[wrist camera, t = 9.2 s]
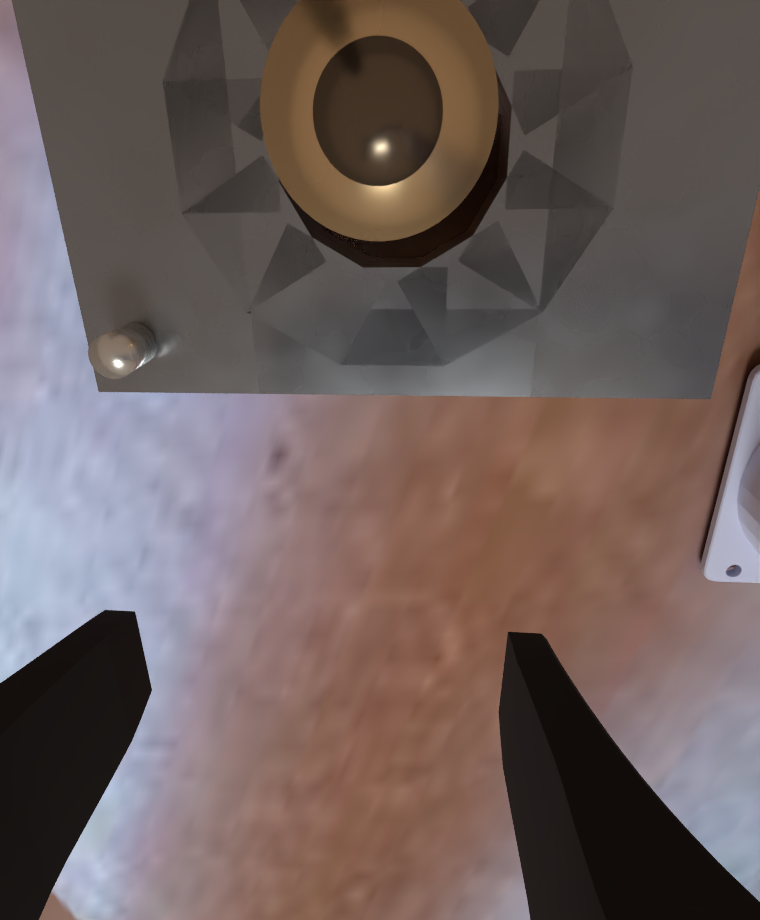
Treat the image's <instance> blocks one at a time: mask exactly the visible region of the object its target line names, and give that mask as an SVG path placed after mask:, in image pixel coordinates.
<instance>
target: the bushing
mask: <svg viewBox="0 0 760 920" xmlns="http://www.w3.org/2000/svg"><path fill="white" fill-rule="evenodd" d="M498 108H499V104H498V84H497V77H496V70H495V67H494V63H493V59H492V55H491V52H490V49H489V47H488V44H487V42H486V39H485V37H484V35H483V33H482V31H481V29H480V27H479V26H478V24H477V22H476V20H475V19H474V17H473V16H472V15H471V13H470V12H469V11H468V9H467V8H466V7H465V5H464V4H463V3H462V2H461V1H460V0H300V1H299V2H298V3H297V4H296V5H295V6H294V8H293V9H292V10H291V11H290V13H289V14H288V15H287V17H286V18H285V20H284V21H283V23H282V25H281V26H280V28H279V30H278V32H277V33H276V35H275V38H274V40H273V42H272V45H271V47H270V49H269V52H268V56H267V59H266V63H265V66H264V70H263V76H262V82H261V93H260V115H261V125H262V131H263V137H264V142H265V145H266V148H267V152H268V155H269V158H270V160H271V163H272V165H273V168H274V170H275V172H276V174H277V176H278V177H279V179H280V181H281V183H282V185H283V186H284V188H285V189H286V190H287V192H288V193H289V195H290V196H291V197H292V199H293V200H294V201H295V202H296V203H297V204H298V205H299V206H300V207H301V208H302V210H304V211H305V212H306V213H307V214H308V215H309V216H311V217H312V218H313V219H314V220H316V221H317V222H319V223H320V224H322V225H323V226H325V227H327V228H328V229H330V230H333V231H335V232H337V233H339V234H341V235H345V236H348V237H351V238H354V239H360V240H366V241H390V240H398V239H402V238H406V237H410V236H413V235H415V234H418V233H420V232H422V231H425V230H427V229H428V228H430V227H432V226H434V225H435V224H437V223H439V222H440V221H441V220H443V219H444V218H445V217H447V216H448V215H449V214H450V213H451V212H453V211H454V210H455V209H456V208H457V207H458V206H459V205H460V204H461V203H462V201H463V200H464V199H465V198H466V196H467V195H468V194H469V193H470V191H471V190H472V189H473V187H474V185H475V184H476V182H477V180H478V179H479V177H480V175H481V173H482V171H483V169H484V167H485V165H486V163H487V160H488V158H489V155H490V152H491V148H492V145H493V142H494V137H495V132H496V127H497V119H498Z"/></svg>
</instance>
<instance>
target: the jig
mask: <svg viewBox="0 0 760 920" xmlns="http://www.w3.org/2000/svg"><path fill="white" fill-rule="evenodd" d="M299 1H300V0H12V3H13V8H14V12H15V17H16V21H17V26H18V30H19V35H20V39H21V44H22V48H23V53H24V57H25V62H26V66H27V71H28V75H29V80H30V84H31V89H32V93H33V98H34V102H35V107H36V111H37V116H38V120H39V125H40V129H41V134H42V138H43V143H44V147H45V152H46V157H47V161H48V166H49V170H50V175H51V179H52V184H53V188H54V193H55V197H56V202H57V206H58V211H59V215H60V220H61V224H62V229H63V233H64V238H65V242H66V247H67V251H68V256H69V260H70V265H71V269H72V274H73V278H74V283H75V287H76V292H77V296H78V301H79V305H80V310H81V314H82V319H83V323H84V328H85V332H86V337H87V341H88V346H89V349H88V356H89V360H90V363H91V364H92V366H93V368H94V373H95V377H96V382H97V386H98V391H99V392H165V393H249V394H333V395H416V396H500V397H584V398H668V399H711V395H712V391H713V387H714V382H715V378H716V374H717V369H718V365H719V361H720V356H721V352H722V348H723V343H724V339H725V334H726V330H727V326H728V321H729V317H730V313H731V308H732V304H733V300H734V295H735V291H736V287H737V282H738V278H739V274H740V269H741V265H742V261H743V256H744V252H745V248H746V243H747V239H748V235H749V230H750V226H751V222H752V217H753V213H754V209H755V204H756V200H757V195H758V191H759V187H760V0H460V1H461V2H462V3H463V4H464V5H465V7H466V8H467V9H468V11H469V12H470V13H471V15H472V16H473V17H474V19H475V20H476V22H477V24H478V26H479V27H480V29H481V31H482V33H483V35H484V37H485V39H486V42H487V44H488V47H489V49H490V52H491V55H492V59H493V63H494V67H495V70H496V77H497V84H498V104H499V108H498V111H499V113H500V115H501V129H500V145H499V161H498V177H497V181H496V182H495V184H494V186H493V188H492V189H491V191H490V193H489V194H488V196H487V198H486V199H485V201H484V203H483V205H482V206H481V208H480V210H479V211H478V213H477V215H476V217H475V218H474V220H473V222H472V223H471V225H470V227H469V229H468V230H467V231H465V232H463V233H462V234H460V235H458V236H457V237H455V238H453V239H452V240H450V241H448V242H447V243H445V244H443V245H442V246H440V247H439V248H437V249H435V250H434V251H432V252H430V253H429V254H427V255H425V256H424V257H422V258H371V257H369V256H367V255H366V254H364V253H362V252H361V251H359V250H357V249H355V248H354V247H352V246H350V245H349V244H347V243H345V242H344V241H342V240H340V239H339V238H337V237H335V236H334V235H332V234H330V233H329V232H327V231H326V230H325V228H324V226H323V225H322V224H320V223H319V222H317V221H316V220H314V219H313V218H312V217H311V216H309V215H308V214H307V213H306V212H305V211H304V210H302V208H301V207H300V206H299V205H298V204H297V203H296V202H295V201H294V200H293V199H292V197H291V196H290V195H289V193H288V192H287V190H286V189H285V188H284V186H283V185H282V183H281V181H280V179H279V177H278V176H277V174H276V172H275V170H274V168H273V165H272V163H271V160H270V158H269V155H268V152H267V148H266V145H265V142H264V137H263V131H262V125H261V115H260V93H261V82H262V76H263V70H264V66H265V63H266V59H267V56H268V52H269V49H270V47H271V45H272V42H273V40H274V38H275V35H276V33H277V32H278V30H279V28H280V26H281V25H282V23H283V21H284V20H285V18H286V17H287V15H288V14H289V13H290V11H291V10H292V9H293V8H294V6H295V5H296V4H297V3H298V2H299Z"/></svg>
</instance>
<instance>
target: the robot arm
mask: <svg viewBox="0 0 760 920" xmlns="http://www.w3.org/2000/svg"><path fill="white" fill-rule="evenodd" d="M731 565H736V566H735V568H734V569H732V570H729V571H726V570H727V568H728V567H730V566H731ZM700 569H701V571H702V572H703V574H704V575H705V577H706V578H707V579H709V580H711V581H721V582H750V583H760V364H759V365H758V366H756V367H755V368H754V369H753V370H752V371H751V372H750V374H749V376H748V379H747V383H746V387H745V391H744V395H743V399H742V403H741V407H740V411H739V415H738V419H737V423H736V427H735V431H734V434H733V438H732V442H731V446H730V450H729V454H728V458H727V462H726V466H725V470H724V474H723V478H722V482H721V486H720V490H719V494H718V497H717V501H716V505H715V509H714V513H713V517H712V521H711V525H710V529H709V533H708V537H707V541H706V545H705V549H704V553H703V557H702V561H701V565H700ZM151 691H152V688H151V684H150V679H149V674H148V670H147V665H146V660H145V656H144V651H143V646H142V642H141V637H140V633H139V628H138V623H137V619H136V614H135V612H132V611H113V610H104V611H103V612H101V613H100V614H98V615H97V616H95V617H94V618H92V619H91V620H89V621H88V622H86V623H85V624H83V625H82V626H81V627H79V628H78V629H76V630H75V631H74V632H72V633H71V634H69V635H68V636H67V637H65V638H64V639H62V640H61V641H60V642H58V643H57V644H55V645H54V646H53V647H51V648H50V649H48V650H47V651H46V652H44V653H43V654H41V655H40V656H39V657H37V658H36V659H34V660H33V661H31V662H30V663H29V664H27V665H26V666H24V667H23V668H21V669H20V670H19V671H17V672H16V673H14V674H13V675H12V676H10V677H9V678H7V679H6V680H4V681H3V682H2V683H0V920H39V918H40V915H41V913H42V911H43V909H44V906H45V904H46V902H47V900H48V897H49V895H50V893H51V891H52V889H53V887H54V885H55V883H56V881H57V879H58V877H59V875H60V873H61V871H62V869H63V867H64V865H65V863H66V861H67V859H68V857H69V855H70V854H71V852H72V850H73V848H74V846H75V844H76V843H77V841H78V839H79V837H80V835H81V834H82V832H83V830H84V828H85V826H86V824H87V823H88V821H89V819H90V817H91V815H92V814H93V812H94V810H95V808H96V806H97V804H98V803H99V801H100V799H101V797H102V795H103V794H104V792H105V790H106V788H107V786H108V785H109V783H110V781H111V779H112V777H113V775H114V773H115V772H116V770H117V768H118V766H119V764H120V762H121V760H122V759H123V757H124V755H125V753H126V751H127V749H128V747H129V745H130V743H131V742H132V739H133V737H134V734H135V732H136V730H137V727H138V725H139V722H140V720H141V718H142V715H143V712H144V710H145V707H146V704H147V702H148V699H149V696H150V694H151ZM499 722H500V736H501V749H502V760H503V770H504V775H505V781H506V786H507V792H508V797H509V803H510V808H511V814H512V819H513V824H514V830H515V835H516V840H517V846H518V851H519V857H520V862H521V867H522V873H523V878H524V883H525V889H526V894H527V899H528V906H529V913H530V919H531V920H760V902H759V901H758V900H757V899H756V898H755V897H754V896H753V895H752V894H751V893H750V892H749V891H748V890H747V889H746V888H744V887H743V886H742V885H741V884H740V883H739V882H738V881H737V880H736V879H735V878H734V877H733V876H732V875H731V874H730V873H729V872H728V871H727V870H726V869H725V868H724V867H723V866H722V865H721V864H720V863H719V862H718V861H717V860H716V859H715V858H714V857H713V856H712V855H711V854H710V853H709V852H708V851H707V850H706V849H705V848H704V846H703V845H702V844H701V843H700V842H699V841H698V840H697V839H696V838H695V837H694V836H693V835H692V834H691V833H690V832H689V831H688V830H687V828H686V827H685V826H684V825H683V824H682V823H681V822H680V821H679V820H678V818H677V817H676V816H675V815H674V814H673V813H672V812H671V811H670V810H669V808H668V807H667V806H666V805H665V804H664V803H663V802H662V800H661V799H660V798H659V797H658V796H657V795H656V793H655V792H654V791H653V790H652V789H651V787H650V786H649V785H648V784H647V783H646V781H645V780H644V779H643V778H642V777H641V775H640V774H639V773H638V771H637V770H636V769H635V768H634V766H633V765H632V764H631V763H630V761H629V760H628V759H627V758H626V756H625V755H624V754H623V753H622V751H621V750H620V749H619V747H618V746H617V745H616V743H615V742H614V741H613V739H612V738H611V737H610V735H609V734H608V733H607V731H606V730H605V728H604V727H603V726H602V724H601V723H600V721H599V720H598V719H597V717H596V716H595V714H594V713H593V712H592V710H591V709H590V707H589V706H588V705H587V703H586V702H585V700H584V699H583V697H582V696H581V694H580V693H579V691H578V690H577V688H576V687H575V685H574V683H573V682H572V680H571V679H570V677H569V676H568V674H567V673H566V671H565V669H564V668H563V666H562V665H561V663H560V661H559V660H558V658H557V656H556V655H555V653H554V651H553V650H552V648H551V646H550V644H549V643H548V641H547V639H546V638H545V637H544V636H543V635H542V634H537V633H519V632H508V637H507V646H506V654H505V663H504V671H503V680H502V689H501V697H500V706H499Z"/></svg>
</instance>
